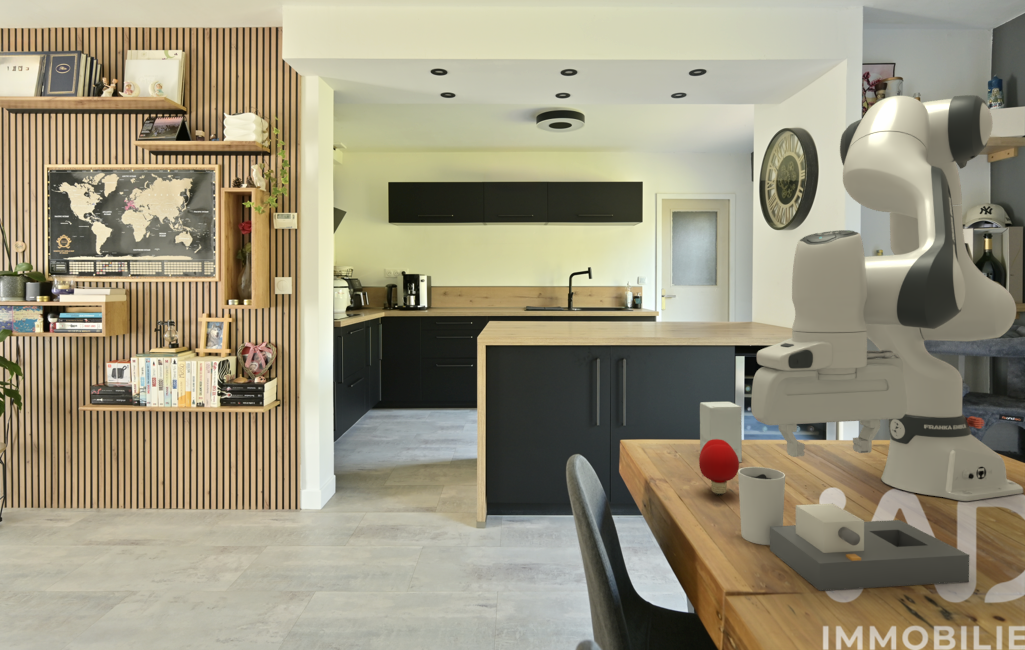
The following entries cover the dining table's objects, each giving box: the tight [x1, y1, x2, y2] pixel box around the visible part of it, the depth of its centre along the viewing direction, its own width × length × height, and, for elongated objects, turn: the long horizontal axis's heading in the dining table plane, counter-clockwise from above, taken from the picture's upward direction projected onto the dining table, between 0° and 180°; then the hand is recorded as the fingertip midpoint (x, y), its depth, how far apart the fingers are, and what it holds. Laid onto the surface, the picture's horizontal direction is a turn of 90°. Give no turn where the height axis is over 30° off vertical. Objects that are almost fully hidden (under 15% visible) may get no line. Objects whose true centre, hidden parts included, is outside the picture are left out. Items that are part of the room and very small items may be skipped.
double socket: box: [769, 519, 970, 591], centre depth 80 cm, size 20×12×4 cm, turn 94°
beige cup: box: [737, 466, 786, 546], centre depth 89 cm, size 7×7×10 cm
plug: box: [795, 502, 865, 553], centre depth 78 cm, size 6×8×7 cm, turn 4°
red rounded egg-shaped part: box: [698, 439, 740, 496], centre depth 109 cm, size 9×7×10 cm
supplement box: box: [699, 401, 743, 463], centre depth 133 cm, size 7×7×13 cm
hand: (829, 453), depth 79 cm, fingers open, 8 cm apart
